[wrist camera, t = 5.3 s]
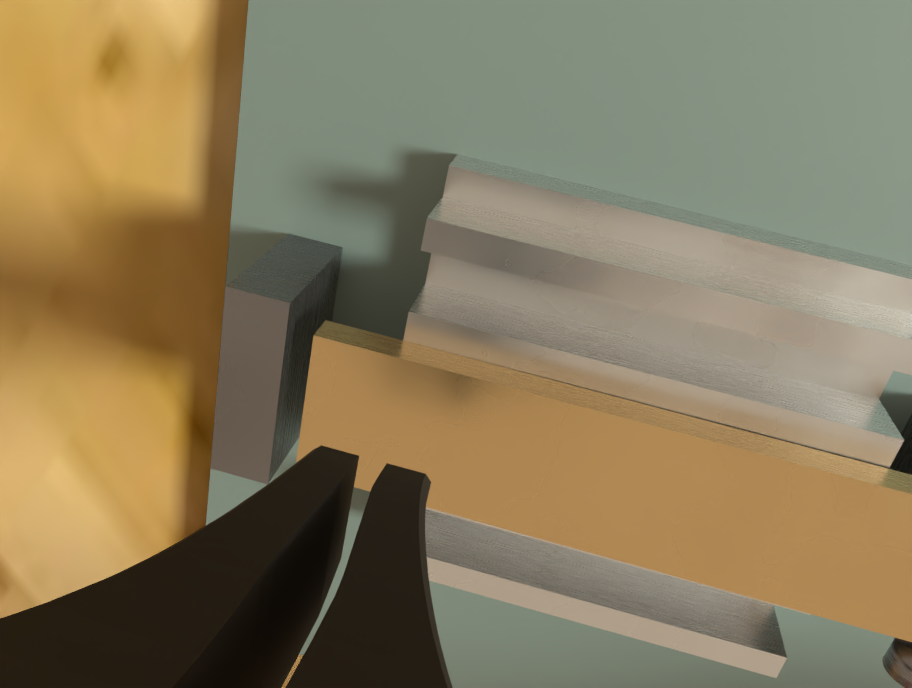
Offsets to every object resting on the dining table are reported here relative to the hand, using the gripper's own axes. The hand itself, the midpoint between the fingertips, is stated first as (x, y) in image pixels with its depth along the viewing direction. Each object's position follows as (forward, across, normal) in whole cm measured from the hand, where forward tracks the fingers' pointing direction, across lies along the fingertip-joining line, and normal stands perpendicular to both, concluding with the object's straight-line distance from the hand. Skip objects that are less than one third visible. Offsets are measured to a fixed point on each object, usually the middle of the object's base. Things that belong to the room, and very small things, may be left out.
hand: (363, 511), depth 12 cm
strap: (+4, -5, 0) cm, 6 cm away
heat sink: (+6, -4, 0) cm, 7 cm away
